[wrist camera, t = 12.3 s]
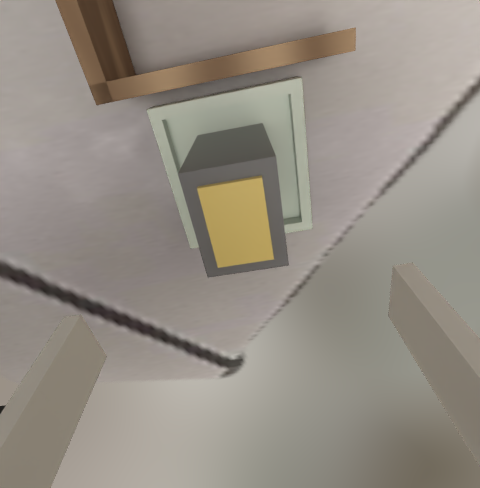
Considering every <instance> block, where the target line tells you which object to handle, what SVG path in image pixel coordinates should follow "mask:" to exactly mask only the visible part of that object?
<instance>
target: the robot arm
mask: <svg viewBox="0 0 480 488" xmlns="http://www.w3.org/2000/svg"><path fill="white" fill-rule="evenodd" d="M388 316H389V318H390V319H391V321H392V323H393V324H394V326H395V328H396V329H397V331H398V333H399V334H400V336H401V338H402V339H403V341H404V343H405V344H406V346H407V348H408V349H409V351H410V353H411V354H412V356H413V358H414V359H415V361H416V362H417V364H418V366H419V367H420V369H421V371H422V372H423V374H424V376H425V377H426V379H427V381H428V382H429V384H430V386H431V387H432V389H433V391H434V392H435V394H436V395H437V397H438V399H439V400H440V402H441V403H442V405H443V407H444V409H445V410H446V412H447V414H448V415H449V417H450V419H451V420H452V422H453V424H454V425H455V427H456V429H457V430H458V432H459V433H460V435H461V437H462V438H463V440H464V442H465V443H466V445H467V447H468V448H469V450H470V452H471V453H472V455H473V457H474V458H475V460H476V462H477V463H478V465H479V467H480V338H479V337H478V336H477V335H476V334H475V333H474V331H473V330H472V329H471V328H470V327H469V326H468V325H467V324H466V322H465V321H464V320H463V319H462V318H461V317H460V316H459V314H458V313H457V312H456V311H455V310H454V309H453V308H452V307H451V305H450V304H449V303H448V302H447V301H446V300H445V299H444V297H443V296H442V295H441V294H440V293H439V292H438V291H437V290H436V288H435V287H434V286H433V285H432V284H431V283H430V282H429V281H428V279H427V278H426V277H425V276H424V275H423V274H422V273H421V271H420V270H419V269H418V268H417V267H416V266H415V265H414V264H413V263H407V264H400V265H394V266H393V269H392V280H391V291H390V303H389V314H388ZM106 357H107V356H106V354H105V353H104V351H103V349H102V348H101V346H100V344H99V343H98V341H97V340H96V338H95V336H94V335H93V333H92V332H91V330H90V328H89V327H88V325H87V323H86V322H85V320H84V319H83V317H82V315H81V314H80V315H74V316H67V317H64V318H63V319H62V321H61V323H60V324H59V326H58V327H57V329H56V330H55V332H54V333H53V335H52V336H51V338H50V339H49V341H48V342H47V344H46V345H45V347H44V348H43V350H42V351H41V353H40V354H39V356H38V358H37V359H36V361H35V362H34V364H33V365H32V367H31V368H30V370H29V371H28V373H27V374H26V376H25V377H24V379H23V380H22V382H21V383H20V385H19V387H18V388H17V390H16V391H15V393H14V394H13V396H12V397H11V399H10V400H9V402H8V403H7V405H5V406H0V488H51V485H52V483H53V481H54V479H55V476H56V474H57V472H58V469H59V467H60V464H61V462H62V460H63V457H64V455H65V453H66V451H67V448H68V446H69V444H70V441H71V439H72V436H73V434H74V432H75V429H76V427H77V425H78V422H79V420H80V418H81V415H82V413H83V411H84V408H85V406H86V404H87V401H88V399H89V397H90V394H91V392H92V390H93V387H94V385H95V383H96V380H97V378H98V376H99V373H100V371H101V369H102V366H103V364H104V362H105V359H106Z"/></svg>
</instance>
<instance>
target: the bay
mask: <svg viewBox="0 0 480 488" xmlns="http://www.w3.org/2000/svg"><path fill="white" fill-rule="evenodd" d="M55 1H56V3H57V6H58V8H59V11H60V13H61V16H62V18H63V21H64V23H65V26H66V29H67V31H68V34H69V36H70V39H71V41H72V44H73V46H74V49H75V51H76V54H77V57H78V59H79V62H80V64H81V67H82V69H83V72H84V74H85V77H86V79H87V82H88V85H89V87H90V90H91V92H92V95H93V97H94V100H95V102H96V105H100V104H105V103H109V102H114V101H119V100H124V99H128V98H133V97H138V96H143V95H147V94H152V93H157V92H162V91H166V90H171V89H176V88H180V87H185V86H190V85H195V84H199V83H204V82H209V81H214V80H218V79H223V78H228V77H232V76H237V75H242V74H247V73H251V72H256V71H261V70H266V69H270V68H275V67H280V66H285V65H289V64H294V63H299V62H303V61H308V60H313V59H318V58H322V57H327V56H332V55H337V54H341V53H346V52H351V51H355V43H356V28H351V29H346V30H342V31H337V32H333V33H328V34H323V35H319V36H314V37H310V38H305V39H301V40H296V41H291V42H287V43H282V44H278V45H273V46H268V47H264V48H259V49H255V50H250V51H245V52H241V53H236V54H232V55H227V56H222V57H218V58H213V59H209V60H204V61H199V62H195V63H190V64H186V65H181V66H177V67H172V68H167V69H163V70H158V71H154V72H149V73H144V74H140V75H136V74H135V71H134V68H133V64H132V61H131V58H130V55H129V52H128V49H127V46H126V42H125V39H124V36H123V33H122V30H121V27H120V23H119V20H118V17H117V14H116V11H115V8H114V4H113V1H112V0H55Z"/></svg>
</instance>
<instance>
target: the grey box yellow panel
mask: <svg viewBox="0 0 480 488" xmlns="http://www.w3.org/2000/svg"><path fill="white" fill-rule="evenodd" d="M178 177H179V180H180V183H181V187H182V190H183V194H184V197H185V201H186V204H187V208H188V211H189V214H190V218H191V221H192V225H193V228H194V232H195V235H196V239H197V242H198V245H199V249H200V252H201V256H202V259H203V263H204V266H205V270H206V273H207V276H208V277H215V276H221V275H228V274H235V273H241V272H248V271H255V270H262V269H268V268H275V267H282V266H288V265H289V264H288V255H287V246H286V238H285V229H284V220H283V212H282V203H281V194H280V186H279V177H278V168H277V160H276V155H275V152H274V150H273V147H272V145H271V143H270V140H269V138H268V135H267V133H266V130H265V128H264V125H263V123H259V124H254V125H249V126H244V127H238V128H233V129H228V130H222V131H217V132H212V133H206V134H201V135H197V137H196V139H195V141H194V143H193V145H192V147H191V149H190V151H189V153H188V155H187V157H186V159H185V161H184V163H183V164H182V166H181V168H180V170H179V172H178Z"/></svg>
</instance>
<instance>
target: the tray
mask: <svg viewBox="0 0 480 488" xmlns="http://www.w3.org/2000/svg"><path fill="white" fill-rule="evenodd" d="M147 113H148V116H149V119H150V122H151V125H152V128H153V132H154V135H155V138H156V141H157V144H158V147H159V151H160V154H161V157H162V160H163V163H164V166H165V169H166V173H167V176H168V179H169V182H170V185H171V188H172V192H173V195H174V198H175V201H176V204H177V207H178V210H179V214H180V217H181V220H182V223H183V226H184V229H185V233H186V236H187V239H188V242H189V245H190V248H191V249H194V248H199V245H198V242H197V239H196V235H195V232H194V228H193V225H192V221H191V218H190V214H189V211H188V208H187V204H186V201H185V197H184V194H183V190H182V187H181V183H180V180H179V177H178V172H179V170H180V168H181V166H182V164H183V163H184V161H185V159H186V157H187V155H188V153H189V151H190V149H191V147H192V145H193V143H194V141H195V139H196V137H197V135H201V134H206V133H212V132H217V131H222V130H228V129H233V128H238V127H244V126H249V125H254V124H259V123H263V125H264V128H265V130H266V133H267V135H268V138H269V140H270V143H271V145H272V147H273V150H274V152H275V155H276V160H277V168H278V177H279V186H280V194H281V203H282V212H283V220H284V229H285V233H291V232H297V231H303V230H309V229H313V228H312V214H311V200H310V186H309V171H308V157H307V143H306V128H305V114H304V100H303V86H302V78H301V77H293V78H289V79H284V80H279V81H274V82H269V83H265V84H260V85H255V86H250V87H245V88H240V89H236V90H231V91H226V92H221V93H216V94H212V95H207V96H202V97H197V98H192V99H187V100H183V101H178V102H173V103H168V104H163V105H159V106H154V107H151V108H149V109H147Z"/></svg>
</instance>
